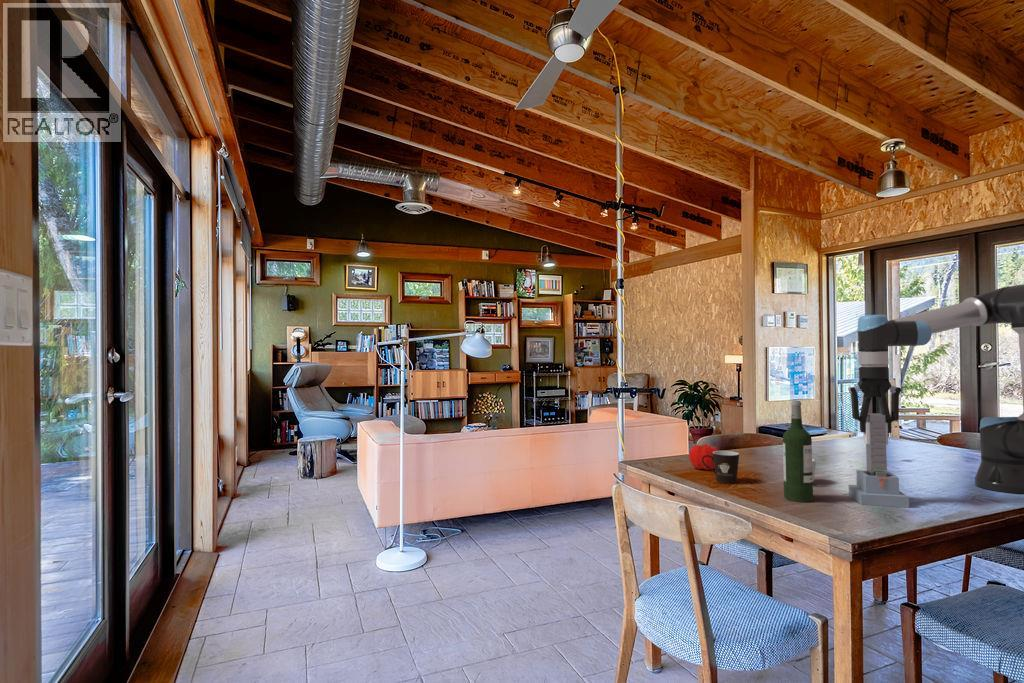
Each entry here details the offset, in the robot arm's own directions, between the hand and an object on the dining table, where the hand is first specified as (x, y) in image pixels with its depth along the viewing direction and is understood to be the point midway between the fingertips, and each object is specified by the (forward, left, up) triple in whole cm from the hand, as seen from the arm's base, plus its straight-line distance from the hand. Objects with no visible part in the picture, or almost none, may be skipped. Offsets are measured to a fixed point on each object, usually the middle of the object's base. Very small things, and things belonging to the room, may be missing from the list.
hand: (875, 443), depth 161 cm
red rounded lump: (+47, -35, -17) cm, 61 cm away
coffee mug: (+42, -15, -17) cm, 48 cm away
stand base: (0, 0, -17) cm, 17 cm away
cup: (+16, -18, -17) cm, 30 cm away
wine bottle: (+22, +4, -17) cm, 28 cm away
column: (0, 0, -11) cm, 11 cm away
